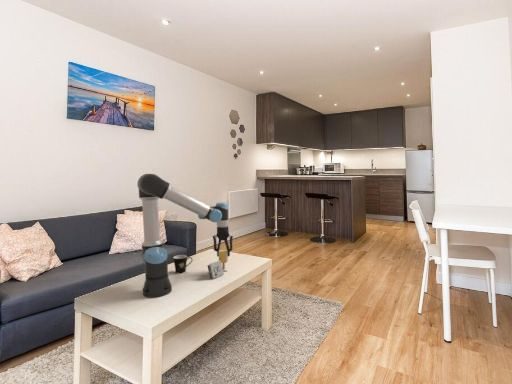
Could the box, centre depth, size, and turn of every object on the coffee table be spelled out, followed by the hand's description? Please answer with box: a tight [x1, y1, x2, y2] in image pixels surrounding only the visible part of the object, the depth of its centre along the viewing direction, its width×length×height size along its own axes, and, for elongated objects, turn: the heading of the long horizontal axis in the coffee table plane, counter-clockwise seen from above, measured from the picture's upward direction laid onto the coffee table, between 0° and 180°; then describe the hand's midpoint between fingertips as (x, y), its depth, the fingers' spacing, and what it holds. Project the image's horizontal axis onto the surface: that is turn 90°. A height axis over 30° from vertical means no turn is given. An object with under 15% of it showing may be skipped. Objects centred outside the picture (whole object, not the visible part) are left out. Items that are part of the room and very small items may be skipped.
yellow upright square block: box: [219, 249, 228, 264], centre depth 187 cm, size 4×4×7 cm
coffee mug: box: [173, 254, 193, 274], centre depth 187 cm, size 12×9×10 cm
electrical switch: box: [207, 260, 225, 280], centre depth 178 cm, size 9×5×9 cm, turn 141°
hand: (223, 261), depth 187 cm, fingers closed on yellow upright square block, 4 cm apart
